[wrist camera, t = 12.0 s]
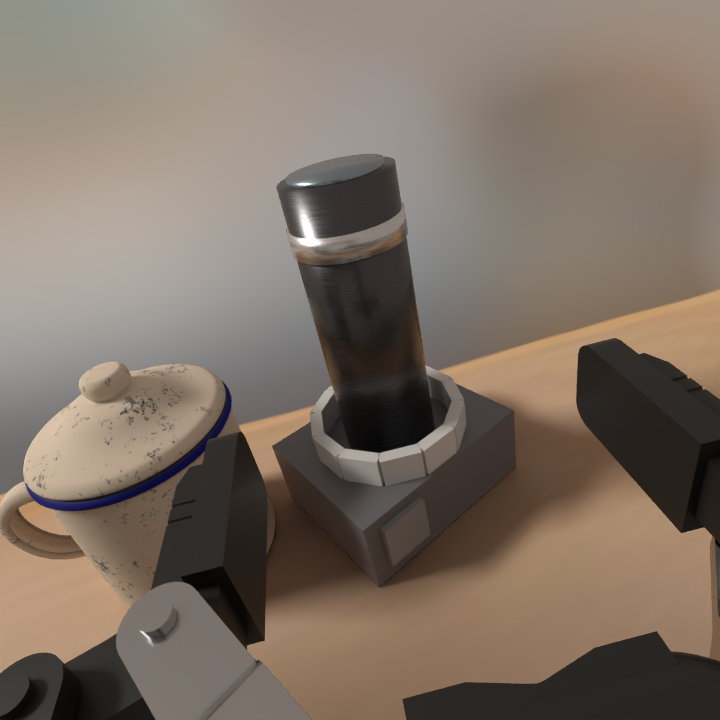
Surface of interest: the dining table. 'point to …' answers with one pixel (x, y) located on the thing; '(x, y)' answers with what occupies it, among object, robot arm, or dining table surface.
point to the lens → (361, 296)
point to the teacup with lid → (119, 468)
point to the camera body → (398, 475)
